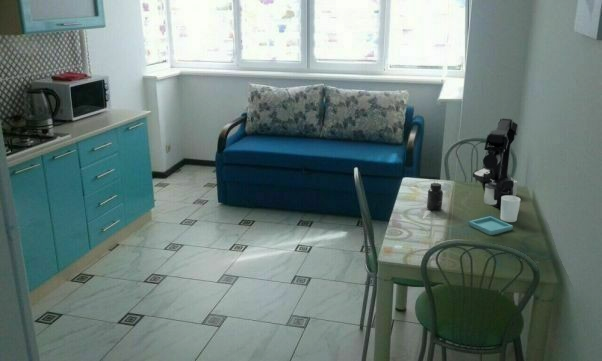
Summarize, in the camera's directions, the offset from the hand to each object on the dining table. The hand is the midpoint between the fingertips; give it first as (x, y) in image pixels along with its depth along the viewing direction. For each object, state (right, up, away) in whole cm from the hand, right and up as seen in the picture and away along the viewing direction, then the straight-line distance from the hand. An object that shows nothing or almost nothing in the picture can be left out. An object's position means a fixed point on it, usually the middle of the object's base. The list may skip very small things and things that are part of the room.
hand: (490, 198), depth 234 cm
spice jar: (0, -2, +1) cm, 2 cm away
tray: (+1, -13, +3) cm, 13 cm away
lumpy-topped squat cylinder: (+21, +1, +44) cm, 49 cm away
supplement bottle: (-18, -6, +25) cm, 31 cm away
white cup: (+12, -10, +11) cm, 19 cm away
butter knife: (-26, -10, +12) cm, 31 cm away
